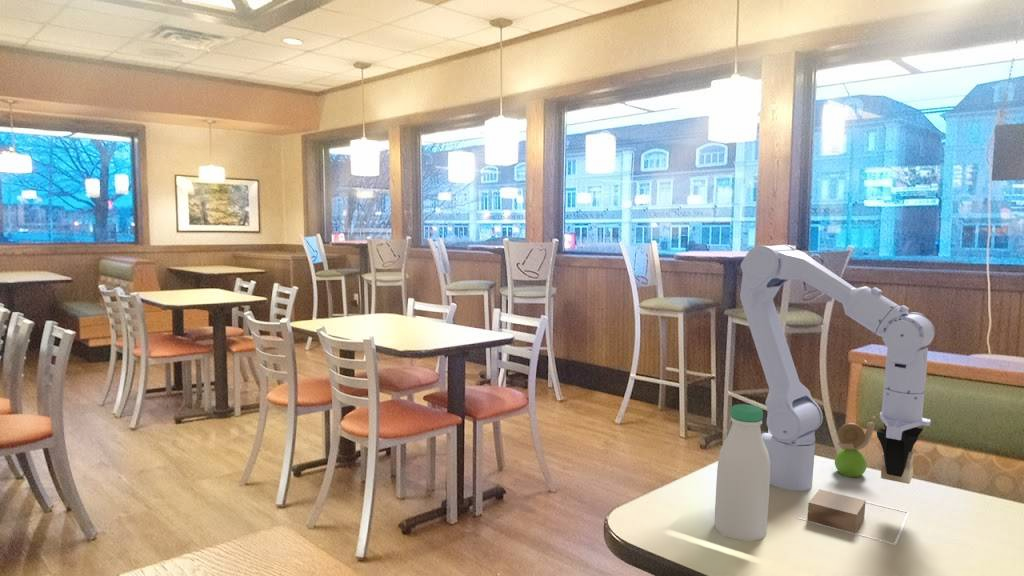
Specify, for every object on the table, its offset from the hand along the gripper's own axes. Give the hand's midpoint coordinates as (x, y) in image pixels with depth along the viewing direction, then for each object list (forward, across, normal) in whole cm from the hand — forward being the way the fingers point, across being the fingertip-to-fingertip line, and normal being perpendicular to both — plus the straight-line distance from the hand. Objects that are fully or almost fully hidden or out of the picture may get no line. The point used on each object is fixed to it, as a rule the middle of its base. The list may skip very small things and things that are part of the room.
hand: (896, 470), depth 112 cm
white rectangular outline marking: (+8, -4, +5) cm, 10 cm away
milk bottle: (+8, -21, +18) cm, 29 cm away
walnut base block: (+7, -8, +7) cm, 13 cm away
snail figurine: (+8, +15, +9) cm, 19 cm away
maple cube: (+1, 0, 0) cm, 1 cm away
